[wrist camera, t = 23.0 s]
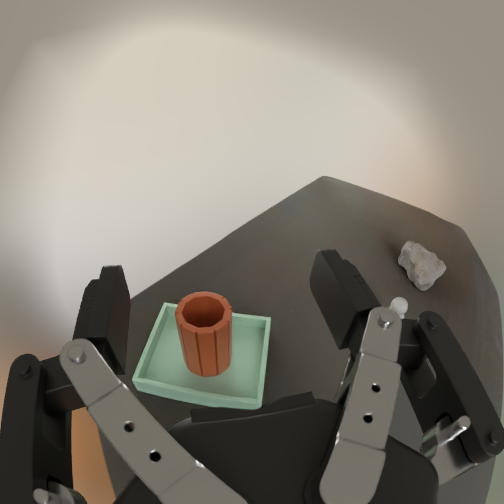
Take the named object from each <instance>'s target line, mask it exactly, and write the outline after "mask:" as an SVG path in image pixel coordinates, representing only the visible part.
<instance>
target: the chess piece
mask: <svg viewBox="0 0 504 504" xmlns="http://www.w3.org/2000/svg"><path fill="white" fill-rule="evenodd" d="M388 308H389V309H391V310H393V311H395V312H396V313H397V314H398V315H399V317H400V318H401V319H403V318H404V313H405V312H406V311H407V309H408V303H407V301H406V300H405V299H404V298H401V297H397V298H395V299H394V300H393V301H392V303H391V306H390V307H388Z"/></svg>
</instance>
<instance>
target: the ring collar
mask: <svg viewBox="0 0 504 504" xmlns="http://www.w3.org/2000/svg"><path fill="white" fill-rule="evenodd" d="M175 319H176V324H177V329H178V334H179V339H180V344H181V349H182V354H183V358H184V361H185V364H186V366H187V368H188V369H189V370H190V371H191V372H193V373H195V374H197V375H199V376H201V377H202V375H203V377H212V376H217V374H218V375H220V374H221V373H223V372H224V371H225V370H226V369H228V366H230V362H231V357H232V308H231V306H230V305H229V303H228V302H227V300H226V298H224V297H223V296H220V295H218V294H215V293H213V292H210V293H209V292H195V293H194V295H193V294H190V295H188V296H187V297H185V298H183V299H182V300H181V302H179V303H178V305H177V308H176V310H175Z"/></svg>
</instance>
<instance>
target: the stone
mask: <svg viewBox="0 0 504 504" xmlns="http://www.w3.org/2000/svg"><path fill="white" fill-rule="evenodd" d="M398 263H399V265H401V266H403V267H404V268H405V269H406V271H407V275H408V277H409V279H410V281H412V282H414V284H415V286H416V287H417V288H418V289H420V290H421V291H426V290H427V289H428V288H430V287H431V286H432V285H433V284H434V281H435V280H436V279H437V278H439V277H440V276H441V275H442V274H443V273H444V271H445V270H446V266H445V265H444V263H443V261H440V260H439V259H438V258H437V256H436V254H435V253H431V252H429V251H427V250H426V249H425V248H424V247H423V246H422V245H420V244H418V243H414V242H413V241H407V242H406V244H405V245H404V246H403V248H402V249H401V255H400V256H399V258H398Z"/></svg>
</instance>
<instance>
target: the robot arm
mask: <svg viewBox="0 0 504 504" xmlns="http://www.w3.org/2000/svg"><path fill="white" fill-rule="evenodd" d="M310 288H311V291H312V294H313V296H314V298H315V300H316V302H317V304H318V306H319V308H320V310H321V312H322V314H323V316H324V318H325V321H326V323H327V325H328V327H329V329H330V331H331V333H332V335H333V338H334V340H335V342H336V344H337V346H338V348H339V350H340V349H344V348H349V349H350V351H351V352H350V354H349V357H348V360H347V363H346V366H345V369H344V372H343V375H342V378H341V381H340V384H339V387H338V390H337V393H336V395H335V397H334V399H333V401H332V402H331V401H327V400H322V399H314V397H313V394H312V391H311V392H307V393H302V394H297V395H292V396H287V397H283V398H281V399H279V400H276V401H274V402H272V403H269V404H267V405H265V406H262V407H260V408H258V409H239V408H229V407H214V408H204V409H193V410H191V417H190V418H187V419H185V420H183V421H180V422H178V423H177V424H175V425H174V426H172V427H171V428H170V429H168V430H167V431H166V430H165V429H164V428H163V427H162V426H161V425H160V424H159V423H158V422H157V421H156V420H155V418H154V417H153V416H152V415H151V414H150V413H149V412H148V411H147V410H146V409H145V407H144V406H143V405H142V404H141V403H140V402H139V401H138V399H137V398H136V397H135V396H134V395H133V393H132V392H131V391H130V390H129V389H128V388H127V386H126V385H125V384H124V383H121V381H120V380H119V379H118V378H117V375H123V374H125V367H126V351H127V338H128V327H129V316H130V294H129V291H128V287H127V284H126V280H125V276H124V272H123V269H122V266H121V265H112V266H103V267H102V270H101V274H100V278H99V279H96V280H92V281H91V282H90V283H89V284H88V286H87V287H86V288H85V291H84V294H83V298H82V302H81V305H80V309H79V314H78V317H77V322H76V326H75V330H74V335H73V339H72V341H70V342H68V343H67V344H66V345H65V346H64V347H63V348H62V350H61V352H60V355H58V356H56V357H53V358H49V359H46V360H43V361H39V360H38V359H37V358H36V356H34V355H32V354H24V355H21V356H19V357H18V358H16V359H15V361H14V362H13V363H12V365H11V368H10V372H9V377H8V382H7V387H6V393H5V399H4V406H3V413H2V421H1V430H0V504H87V502H86V500H85V498H84V497H83V496H82V495H81V494H80V493H79V492H77V491H75V490H74V489H73V477H72V455H71V418H72V410H76V409H79V408H82V407H87V408H86V409H87V411H88V412H89V414H90V416H91V417H92V418H93V420H94V421H95V423H96V424H97V426H98V427H99V428H100V430H101V431H102V433H103V434H104V435H105V437H106V438H107V439H108V441H109V442H110V443H111V444H112V446H113V447H114V448H115V450H116V451H117V452H118V453H119V455H120V456H121V457H122V458H123V459H124V461H125V462H126V463H127V464H128V465H129V467H130V468H131V469H132V470H133V471H134V472H135V474H134V476H133V477H132V478H131V480H130V481H129V482H128V484H127V485H126V486H125V488H124V489H123V491H122V492H121V493H120V495H119V496H118V497H117V499H116V500H115V501H114V503H113V504H437V499H438V490H439V486H440V485H442V484H444V483H445V482H447V481H449V480H450V479H453V478H455V477H457V476H459V475H461V474H463V473H465V472H467V471H469V470H471V469H473V468H475V467H477V466H479V465H481V464H482V463H484V462H486V461H488V460H489V459H491V458H493V457H495V456H496V455H498V454H499V453H500V452H502V450H503V449H504V428H503V426H502V424H501V422H500V419H499V417H498V415H497V413H496V411H495V409H494V407H493V405H492V403H491V401H490V399H489V397H488V395H487V393H486V391H485V389H484V387H483V385H482V383H481V381H480V380H479V378H478V376H477V374H476V372H475V370H474V369H473V367H472V365H471V363H470V362H469V360H468V358H467V356H466V355H465V353H464V351H463V350H462V348H461V346H460V345H459V343H458V341H457V340H456V338H455V336H454V335H453V333H452V332H451V330H450V328H449V327H448V325H447V324H446V322H445V321H444V319H443V318H442V317H441V316H440V315H438V314H437V313H435V312H431V311H425V312H422V313H421V314H420V316H419V317H418V319H417V320H411V319H401V318H400V317H399V315H398V314H397V313H396V312H395V311H393V310H391V309H389V308H386V307H382V306H381V305H380V303H379V302H378V300H377V298H376V297H375V295H374V294H373V292H372V291H371V289H370V288H369V286H368V285H367V283H365V280H364V279H363V277H361V274H360V273H359V271H358V270H357V268H356V267H355V266H354V265H353V264H351V263H350V262H349V261H347V260H342V258H341V257H340V255H339V254H338V252H337V251H336V250H335V249H326V250H317V252H316V254H315V258H314V262H313V267H312V271H311V275H310ZM427 358H428V359H429V360H430V362H431V364H432V366H433V368H434V370H435V372H436V377H437V378H436V380H435V378H434V376H433V374H432V372H431V370H430V368H429V366H428V364H427V362H426V359H427ZM399 380H401V382H402V384H403V387H404V389H405V391H406V393H407V396H408V398H409V400H410V402H411V405H412V407H413V409H414V412H415V414H416V416H417V419H418V421H419V424H420V426H421V428H422V431H423V433H424V435H423V437H422V445H421V447H420V453H419V452H417V451H415V450H413V449H412V448H410V447H408V446H406V445H405V444H403V443H401V442H400V441H398V440H396V439H394V438H393V437H391V436H389V435H388V433H389V429H390V425H391V421H392V416H393V412H394V407H395V402H396V397H397V392H398V386H399Z"/></svg>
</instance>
